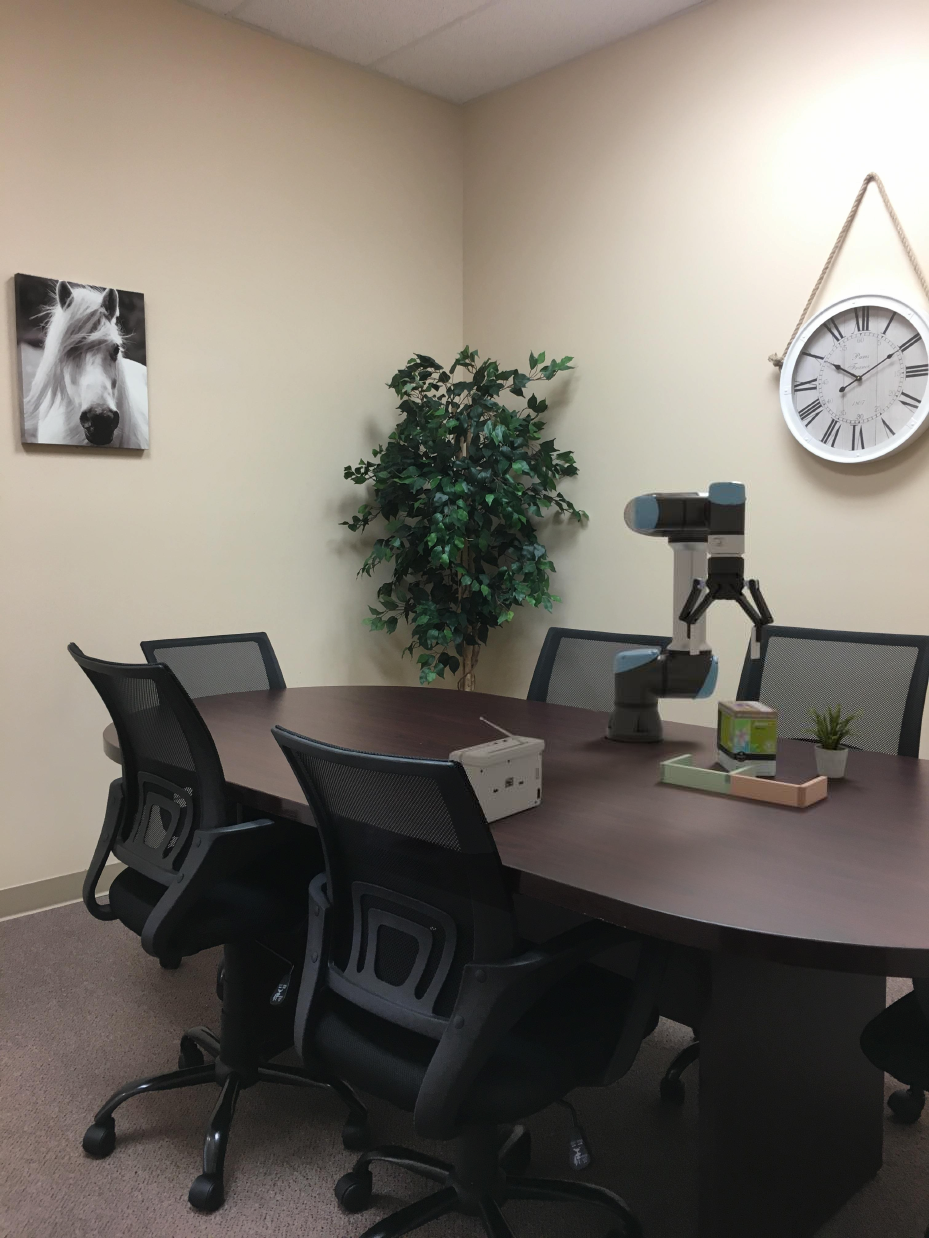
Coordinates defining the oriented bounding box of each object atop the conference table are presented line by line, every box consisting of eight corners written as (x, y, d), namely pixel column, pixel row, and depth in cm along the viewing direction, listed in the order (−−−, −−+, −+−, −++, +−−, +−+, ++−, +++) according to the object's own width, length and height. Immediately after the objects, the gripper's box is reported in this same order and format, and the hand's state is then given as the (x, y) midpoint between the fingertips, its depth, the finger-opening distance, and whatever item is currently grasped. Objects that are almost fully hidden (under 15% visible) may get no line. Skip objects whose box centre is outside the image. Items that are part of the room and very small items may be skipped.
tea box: (777, 776, 209) (779, 710, 208) (731, 776, 209) (733, 710, 208) (757, 761, 224) (759, 699, 223) (715, 761, 224) (716, 699, 223)
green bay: (659, 781, 205) (659, 762, 205) (686, 771, 214) (687, 754, 213) (730, 794, 194) (730, 775, 194) (755, 783, 202) (756, 765, 202)
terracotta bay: (730, 794, 194) (730, 775, 194) (755, 783, 202) (756, 765, 202) (803, 807, 184) (803, 787, 183) (826, 796, 192) (827, 776, 192)
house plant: (874, 785, 201) (877, 709, 200) (806, 782, 204) (808, 707, 202) (860, 770, 215) (863, 699, 214) (796, 767, 218) (798, 697, 216)
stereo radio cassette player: (513, 798, 191) (513, 700, 189) (547, 805, 186) (548, 704, 184) (446, 821, 175) (445, 714, 173) (481, 830, 170) (481, 719, 168)
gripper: (664, 556, 205) (662, 654, 206) (776, 555, 189) (774, 661, 190) (680, 556, 211) (678, 651, 212) (791, 555, 195) (789, 658, 196)
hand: (724, 656), depth 201 cm, fingers open, 13 cm apart
